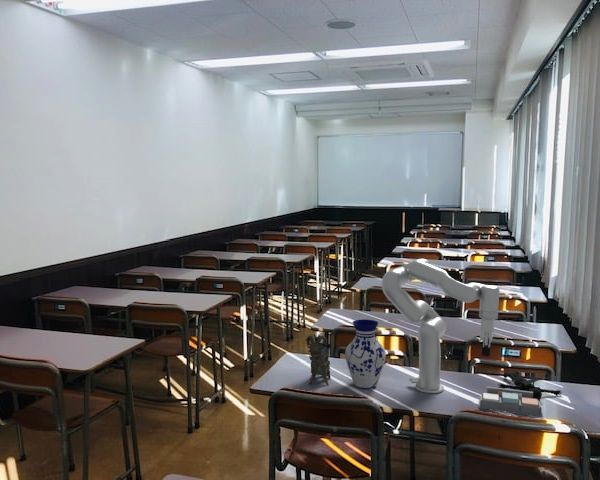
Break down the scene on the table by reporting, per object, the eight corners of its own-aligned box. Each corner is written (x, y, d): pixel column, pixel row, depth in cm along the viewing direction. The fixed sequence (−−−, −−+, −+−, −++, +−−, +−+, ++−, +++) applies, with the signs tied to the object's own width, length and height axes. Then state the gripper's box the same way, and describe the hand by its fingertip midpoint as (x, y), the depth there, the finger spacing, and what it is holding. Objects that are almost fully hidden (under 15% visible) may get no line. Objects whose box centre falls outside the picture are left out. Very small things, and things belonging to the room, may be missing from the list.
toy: (478, 377, 247) (503, 399, 217) (480, 363, 247) (506, 383, 217) (537, 385, 247) (570, 408, 217) (539, 370, 247) (573, 391, 217)
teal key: (502, 404, 210) (502, 397, 210) (502, 399, 216) (502, 392, 216) (518, 406, 208) (518, 399, 208) (517, 400, 214) (517, 393, 214)
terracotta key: (522, 409, 208) (522, 402, 208) (521, 404, 213) (521, 397, 213) (538, 411, 206) (538, 404, 205) (537, 406, 211) (537, 399, 211)
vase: (386, 393, 230) (386, 328, 227) (344, 391, 232) (344, 327, 230) (384, 378, 249) (385, 318, 246) (345, 377, 251) (345, 317, 248)
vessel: (305, 391, 233) (302, 338, 233) (313, 376, 258) (311, 328, 257) (328, 391, 231) (326, 337, 231) (334, 376, 256) (332, 327, 256)
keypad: (479, 408, 213) (479, 394, 212) (479, 398, 223) (480, 385, 223) (542, 416, 204) (542, 402, 204) (540, 405, 215) (540, 392, 214)
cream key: (483, 404, 213) (483, 398, 213) (483, 399, 219) (483, 392, 218) (498, 406, 211) (498, 399, 211) (498, 401, 217) (498, 394, 216)
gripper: (480, 309, 227) (477, 349, 229) (478, 317, 213) (475, 359, 215) (498, 311, 224) (495, 351, 226) (497, 319, 210) (494, 362, 212)
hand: (485, 355), depth 220 cm, fingers closed
